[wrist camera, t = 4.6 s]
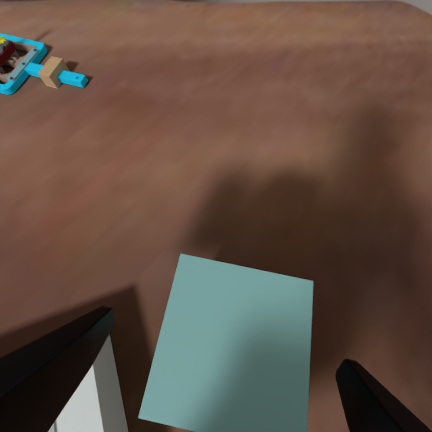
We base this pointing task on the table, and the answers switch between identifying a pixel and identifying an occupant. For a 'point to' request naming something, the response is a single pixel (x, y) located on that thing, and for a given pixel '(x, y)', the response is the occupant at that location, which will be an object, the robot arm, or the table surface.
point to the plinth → (95, 399)
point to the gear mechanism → (32, 65)
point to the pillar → (232, 351)
